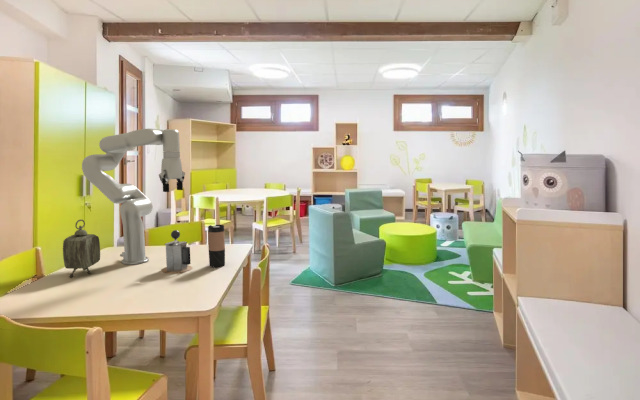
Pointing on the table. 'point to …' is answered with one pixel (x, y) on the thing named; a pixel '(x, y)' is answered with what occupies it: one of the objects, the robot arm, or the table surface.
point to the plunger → (175, 235)
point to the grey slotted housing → (177, 256)
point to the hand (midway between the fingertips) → (173, 190)
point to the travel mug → (216, 246)
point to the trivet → (176, 272)
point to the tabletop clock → (81, 250)
